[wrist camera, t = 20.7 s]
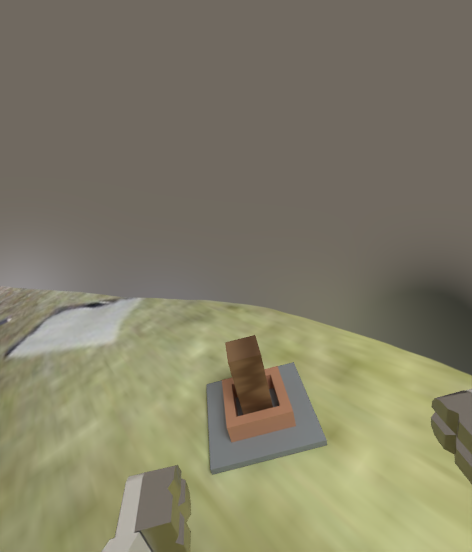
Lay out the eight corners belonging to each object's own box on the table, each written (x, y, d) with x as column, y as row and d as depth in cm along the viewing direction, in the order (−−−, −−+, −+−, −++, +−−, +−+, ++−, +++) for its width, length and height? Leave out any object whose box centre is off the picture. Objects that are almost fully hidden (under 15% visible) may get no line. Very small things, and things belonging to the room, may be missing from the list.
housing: (212, 474, 44) (204, 455, 42) (207, 388, 58) (202, 371, 56) (327, 445, 44) (324, 424, 42) (294, 366, 58) (291, 349, 57)
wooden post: (246, 424, 48) (228, 362, 43) (242, 401, 52) (225, 342, 47) (275, 416, 48) (260, 354, 43) (269, 394, 53) (255, 335, 47)
